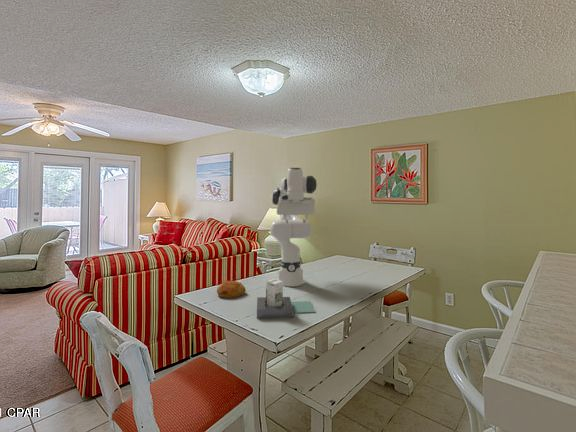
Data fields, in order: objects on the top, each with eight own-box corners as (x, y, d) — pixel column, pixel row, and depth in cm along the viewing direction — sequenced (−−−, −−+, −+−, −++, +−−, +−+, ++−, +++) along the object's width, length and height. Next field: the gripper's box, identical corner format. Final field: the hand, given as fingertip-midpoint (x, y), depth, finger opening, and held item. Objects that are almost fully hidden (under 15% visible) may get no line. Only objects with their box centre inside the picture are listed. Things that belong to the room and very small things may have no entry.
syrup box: (273, 308, 148) (273, 278, 147) (282, 311, 144) (283, 280, 143) (265, 311, 143) (265, 281, 142) (274, 314, 140) (275, 283, 138)
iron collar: (257, 305, 151) (257, 297, 151) (289, 304, 152) (289, 296, 152) (256, 318, 135) (256, 309, 135) (292, 317, 136) (293, 308, 136)
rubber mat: (290, 302, 155) (290, 301, 155) (310, 302, 156) (310, 301, 156) (293, 313, 141) (293, 312, 141) (315, 312, 142) (315, 311, 142)
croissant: (224, 292, 176) (223, 279, 176) (249, 291, 172) (247, 277, 172) (211, 300, 163) (209, 285, 163) (237, 299, 158) (235, 284, 158)
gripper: (313, 198, 167) (313, 223, 167) (276, 197, 165) (276, 223, 165) (315, 196, 161) (316, 223, 160) (277, 196, 159) (277, 223, 158)
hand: (295, 223), depth 162 cm, fingers open, 8 cm apart
